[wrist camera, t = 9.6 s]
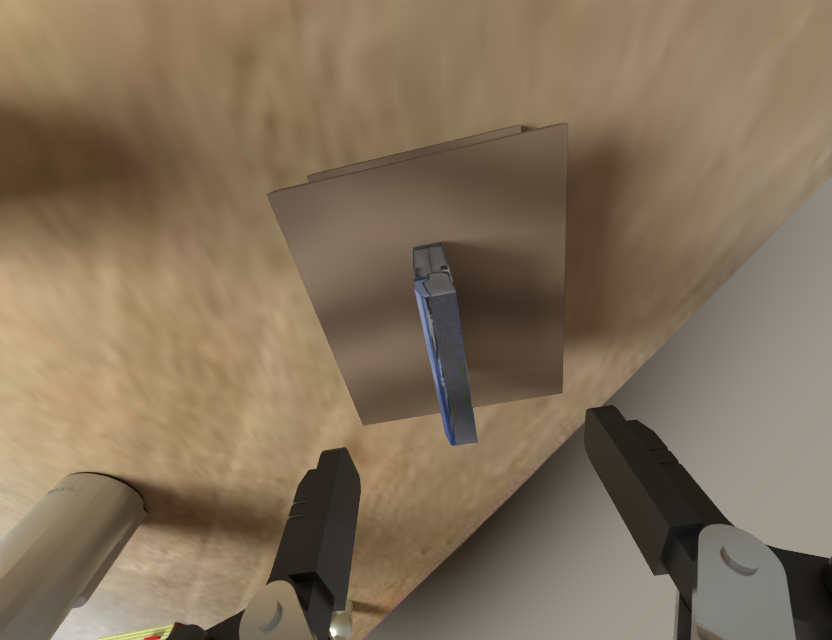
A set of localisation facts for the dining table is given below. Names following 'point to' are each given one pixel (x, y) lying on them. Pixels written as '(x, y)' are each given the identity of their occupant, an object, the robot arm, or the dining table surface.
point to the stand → (466, 255)
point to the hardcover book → (147, 633)
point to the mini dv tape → (444, 341)
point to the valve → (342, 622)
